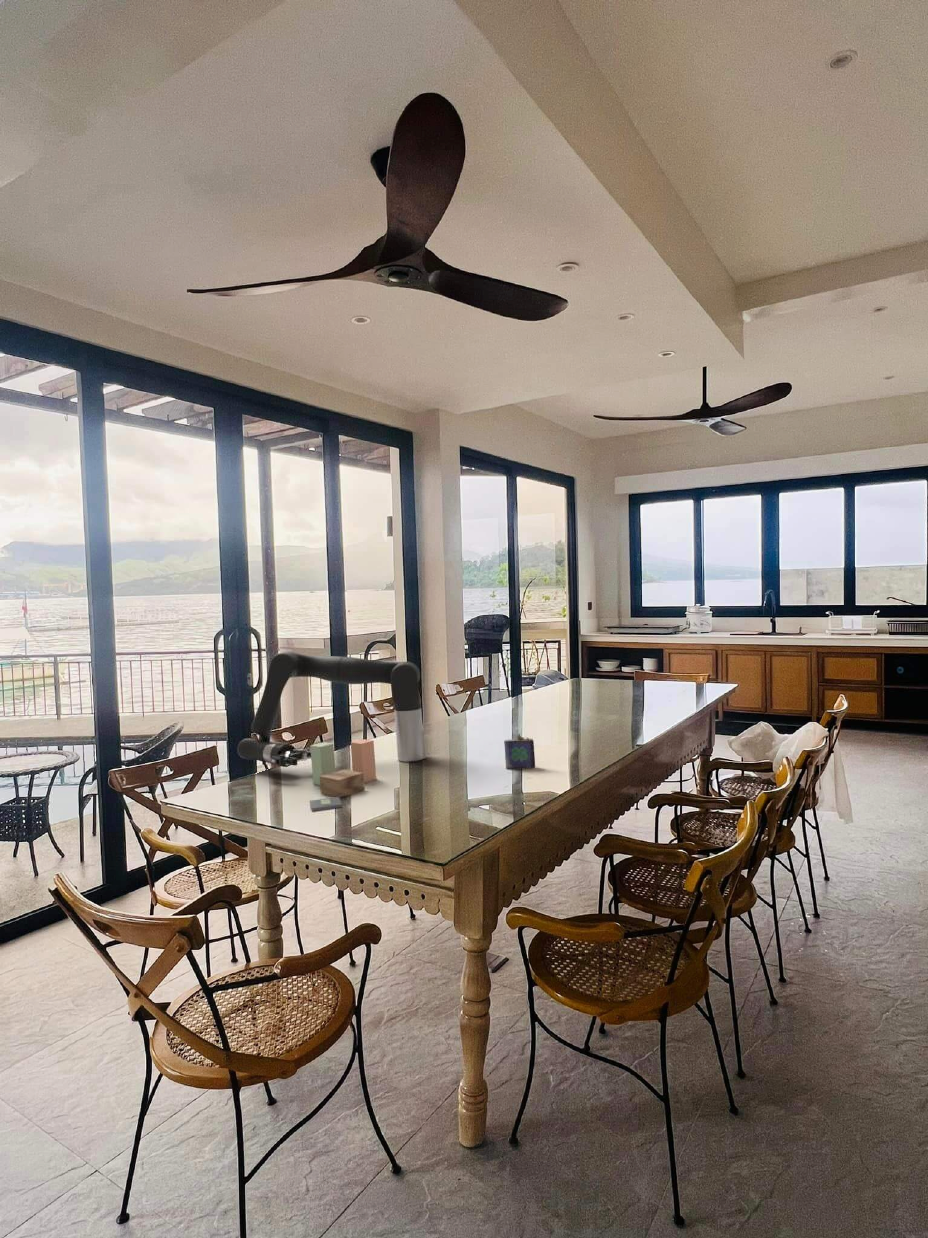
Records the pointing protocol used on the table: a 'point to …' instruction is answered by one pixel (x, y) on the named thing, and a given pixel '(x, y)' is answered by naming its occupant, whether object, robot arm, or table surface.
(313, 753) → the sage pillar
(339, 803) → the tile
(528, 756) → the flask
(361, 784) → the walnut base
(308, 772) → the table surface
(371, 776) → the terracotta pillar
